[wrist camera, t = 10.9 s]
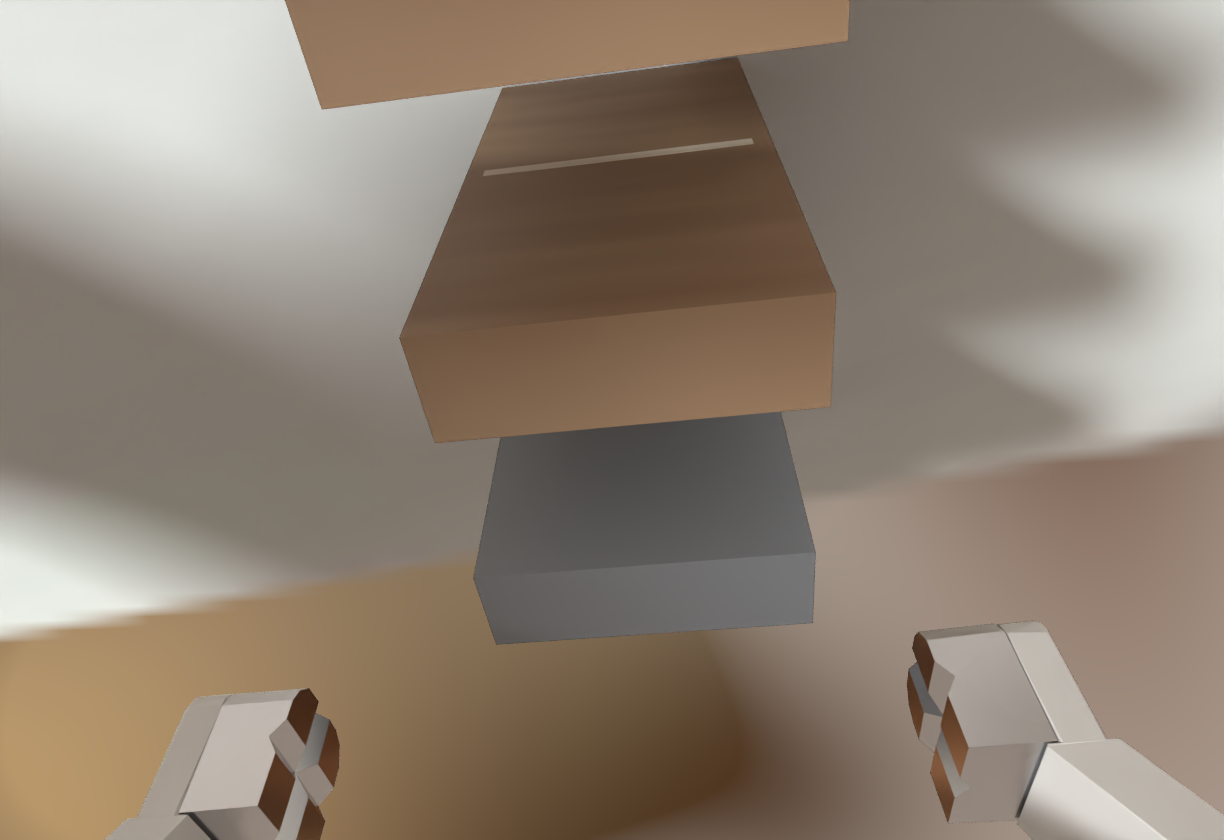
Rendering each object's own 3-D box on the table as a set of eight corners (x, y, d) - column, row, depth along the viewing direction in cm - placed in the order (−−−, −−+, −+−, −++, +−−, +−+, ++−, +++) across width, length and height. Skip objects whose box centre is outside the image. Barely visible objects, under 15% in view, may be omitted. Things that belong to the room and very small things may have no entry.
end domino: (740, 301, 20) (812, 623, 12) (545, 321, 21) (496, 645, 13) (738, 242, 19) (815, 551, 12) (533, 265, 20) (473, 578, 12)
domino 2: (739, 134, 18) (830, 407, 10) (516, 161, 18) (434, 443, 10) (737, 57, 17) (835, 291, 9) (502, 87, 17) (398, 336, 9)
